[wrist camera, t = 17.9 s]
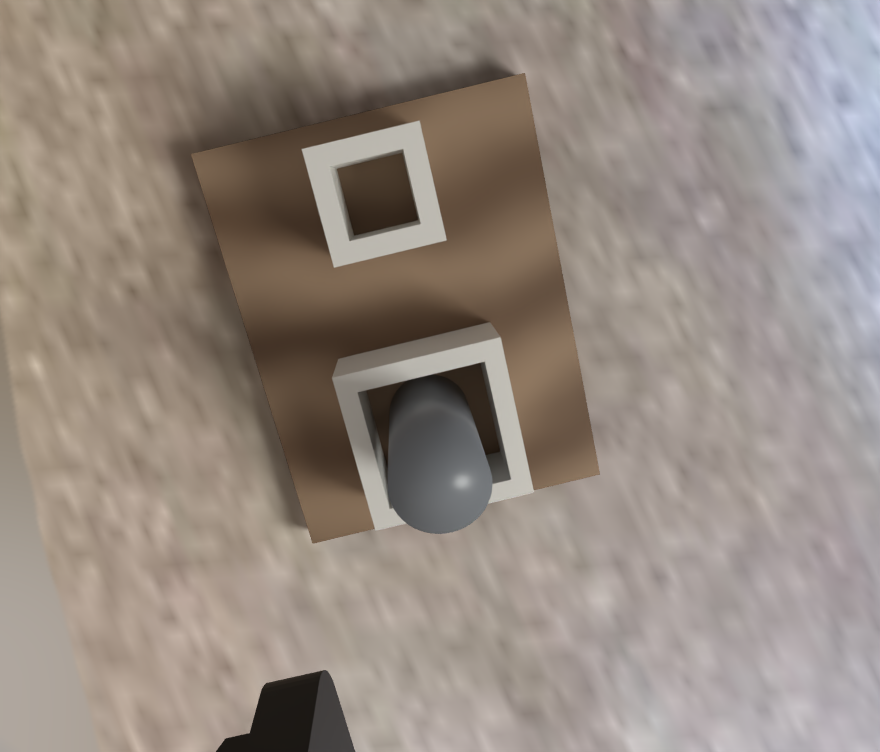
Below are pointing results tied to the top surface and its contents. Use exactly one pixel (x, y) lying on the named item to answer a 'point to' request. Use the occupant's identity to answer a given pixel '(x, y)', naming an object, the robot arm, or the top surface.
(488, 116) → the board
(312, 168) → the socket fittings
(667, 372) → the top surface
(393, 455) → the capsule
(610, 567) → the top surface
